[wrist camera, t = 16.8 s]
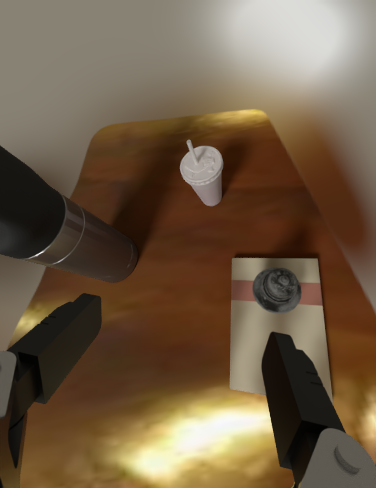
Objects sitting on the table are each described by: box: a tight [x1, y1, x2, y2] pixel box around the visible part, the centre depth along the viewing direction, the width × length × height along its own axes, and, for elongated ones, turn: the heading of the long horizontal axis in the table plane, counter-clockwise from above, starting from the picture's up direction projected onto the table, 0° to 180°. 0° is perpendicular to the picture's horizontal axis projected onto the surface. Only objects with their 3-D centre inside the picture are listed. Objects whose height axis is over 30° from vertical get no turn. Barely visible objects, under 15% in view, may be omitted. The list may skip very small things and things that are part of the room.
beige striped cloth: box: [230, 258, 333, 404], centre depth 30 cm, size 12×18×1 cm, turn 175°
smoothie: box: [180, 140, 223, 206], centre depth 34 cm, size 6×6×14 cm
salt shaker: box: [252, 268, 302, 314], centre depth 26 cm, size 6×6×12 cm
